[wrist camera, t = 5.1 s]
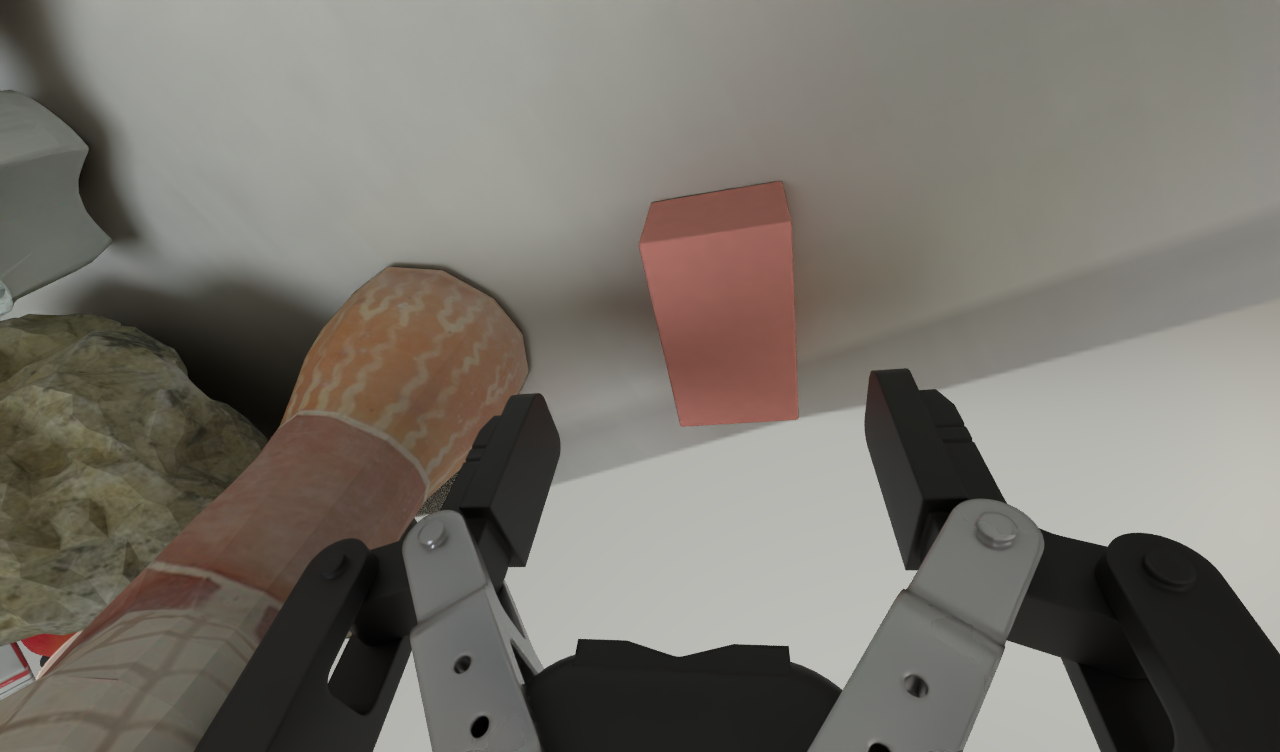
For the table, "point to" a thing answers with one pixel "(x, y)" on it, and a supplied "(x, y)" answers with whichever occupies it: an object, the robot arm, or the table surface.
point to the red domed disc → (49, 647)
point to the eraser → (725, 303)
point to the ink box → (13, 670)
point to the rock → (99, 464)
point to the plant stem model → (284, 515)
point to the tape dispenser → (40, 200)
